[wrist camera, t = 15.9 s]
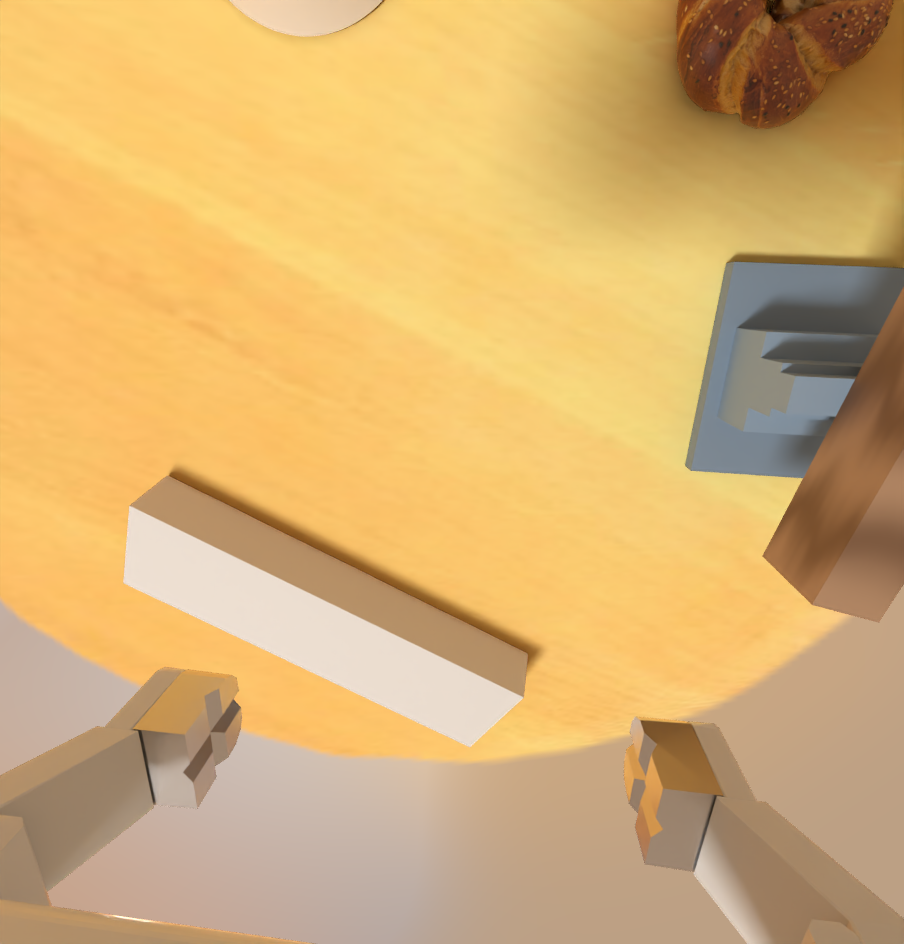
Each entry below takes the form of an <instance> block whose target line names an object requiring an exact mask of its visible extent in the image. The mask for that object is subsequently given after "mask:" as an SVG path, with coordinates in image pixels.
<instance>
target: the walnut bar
mask: <svg viewBox="0 0 904 944" xmlns="http://www.w3.org/2000/svg"><path fill="white" fill-rule="evenodd" d="M763 557H764V558H765V559H766V560H767V561H768V562H769V563H770V564H771V565H772V566H773V567H774V568H775V569H776V570H777V571H778V572H779V573H780V574H781V575H782V576H783V577H784V578H785V579H786V580H787V581H788V582H789V583H790V584H791V585H792V586H793V587H795V588H796V589H797V590H798V591H799V592H800V593H801V594H802V595H803V596H804V597H805V598H806V599H807V600H808V601H809V602H810V603H811V604H812V605H815V606H819V607H822V608H826V609H830V610H834V611H837V612H841V613H845V614H849V615H852V616H857V617H860V618H864V619H868V620H872V621H875V622H879V621H880V620H881V618H882V617H883V615H884V614H885V612H886V611H887V609H888V608H889V606H890V604H891V603H892V601H893V600H894V598H895V597H896V595H897V594H898V592H899V590H900V589H901V587H902V586H903V584H904V287H903V289H902V291H901V293H900V295H899V297H898V298H897V300H896V302H895V304H894V306H893V308H892V310H891V312H890V314H889V316H888V318H887V319H886V321H885V323H884V325H883V327H882V329H881V331H880V333H879V335H878V337H877V339H876V340H875V342H874V344H873V346H872V348H871V350H870V352H869V354H868V356H867V358H866V360H865V361H864V363H863V365H862V367H861V369H860V371H859V373H858V375H857V377H856V379H855V381H854V382H853V384H852V386H851V388H850V390H849V392H848V394H847V396H846V398H845V400H844V402H843V403H842V405H841V407H840V409H839V411H838V413H837V415H836V417H835V419H834V421H833V423H832V424H831V426H830V428H829V430H828V432H827V434H826V436H825V438H824V440H823V442H822V444H821V445H820V447H819V449H818V451H817V453H816V455H815V457H814V459H813V461H812V463H811V465H810V466H809V468H808V470H807V472H806V474H805V476H804V478H803V480H802V482H801V484H800V486H799V487H798V489H797V491H796V493H795V495H794V497H793V499H792V501H791V503H790V505H789V507H788V508H787V510H786V512H785V514H784V516H783V518H782V520H781V522H780V524H779V526H778V528H777V529H776V531H775V533H774V535H773V537H772V539H771V541H770V543H769V545H768V547H767V549H766V550H765V552H764V554H763Z"/></svg>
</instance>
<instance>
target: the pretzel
mask: <svg viewBox="0 0 904 944" xmlns="http://www.w3.org/2000/svg"><path fill="white" fill-rule="evenodd" d="M766 5H767V0H679V3H678V10H677V63H678V69H679V74H680V78H681V81H682V84H683V86H684V88H685V91H686V93H687V95H688V96H689V97H690V99H691V100H692V101H693V102H694V103H695V104H697V105H698V106H699V107H701V108H702V109H703V110H704V111H707V110H708V111H712V112H718V113H726V114H734V113H737V112H738V113H739V114H740V121H741V122H742V123H743V124H746V125H748V126H751V127H754V128H772V127H777V126H780V125H783V124H785V123H787V122H789V121H791V120H793V119H794V118H796V117H797V116H799V115H800V114H802V113H803V112H804V111H805V110H806V109H807V108H808V107H809V105H810V104H811V103H812V102H813V101H814V100H815V99H816V98H817V96H818V95H819V94H820V93H821V92H822V90H823V87H824V84H825V82H826V80H827V76H828V74H829V73H830V72H833V71H839V70H842V69H845V68H846V67H848V66H850V65H852V64H853V63H855V62H857V61H858V60H859V59H861V58H863V57H864V56H865V55H866V54H867V53H868V52H869V51H870V50H871V48H872V47H873V46H874V45H875V44H876V43H877V42H878V40H879V38H880V36H881V34H882V33H883V31H884V28H885V27H886V26H887V24H888V23H887V22H888V20H889V17H890V15H889V14H890V12H891V10H892V5H893V0H774V2H773V8H772V11H771V14H770V15H769V14H767V12H766Z"/></svg>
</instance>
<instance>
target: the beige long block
mask: <svg viewBox="0 0 904 944" xmlns="http://www.w3.org/2000/svg"><path fill="white" fill-rule="evenodd" d="M123 583H124V584H126V585H129V586H131V587H133V588H135V589H137V590H139V591H141V592H143V593H145V594H148V595H150V596H152V597H154V598H156V599H158V600H160V601H162V602H164V603H167V604H169V605H171V606H173V607H175V608H177V609H179V610H181V611H183V612H185V613H188V614H190V615H192V616H194V617H196V618H198V619H200V620H202V621H204V622H207V623H209V624H211V625H213V626H215V627H217V628H219V629H221V630H223V631H226V632H228V633H230V634H232V635H234V636H236V637H238V638H240V639H242V640H245V641H247V642H249V643H251V644H253V645H255V646H257V647H259V648H261V649H264V650H266V651H268V652H270V653H272V654H274V655H276V656H278V657H280V658H283V659H285V660H287V661H289V662H291V663H293V664H295V665H297V666H299V667H302V668H304V669H306V670H308V671H310V672H312V673H314V674H316V675H318V676H321V677H323V678H325V679H327V680H329V681H331V682H333V683H335V684H337V685H340V686H342V687H344V688H346V689H348V690H350V691H352V692H354V693H356V694H359V695H361V696H363V697H365V698H367V699H369V700H371V701H373V702H375V703H378V704H380V705H382V706H384V707H386V708H388V709H390V710H392V711H394V712H397V713H399V714H401V715H403V716H405V717H407V718H409V719H411V720H413V721H416V722H418V723H420V724H422V725H424V726H426V727H428V728H430V729H432V730H435V731H437V732H439V733H441V734H443V735H445V736H447V737H449V738H451V739H454V740H456V741H458V742H460V743H462V744H464V745H466V746H468V747H471V746H472V745H473V744H474V743H475V742H476V741H477V740H478V739H479V738H480V737H481V736H483V735H484V734H485V733H486V732H487V731H488V730H489V729H490V728H491V727H492V726H493V725H494V724H496V723H497V722H498V721H499V720H500V719H501V718H502V717H503V716H504V715H505V714H506V713H508V712H509V711H510V710H511V709H512V708H513V707H514V706H515V705H516V704H517V703H518V702H520V701H521V700H522V699H523V698H524V691H525V681H526V671H527V661H528V653H526V652H524V651H522V650H520V649H518V648H516V647H514V646H512V645H510V644H508V643H506V642H504V641H502V640H500V639H498V638H496V637H494V636H492V635H490V634H488V633H486V632H484V631H482V630H480V629H478V628H476V627H474V626H472V625H470V624H468V623H466V622H464V621H462V620H460V619H457V618H455V617H453V616H451V615H449V614H447V613H445V612H443V611H441V610H439V609H437V608H435V607H433V606H431V605H429V604H427V603H425V602H423V601H421V600H419V599H417V598H415V597H413V596H411V595H409V594H407V593H405V592H403V591H401V590H399V589H397V588H395V587H392V586H390V585H388V584H386V583H384V582H382V581H380V580H378V579H376V578H374V577H372V576H371V575H369V574H367V573H365V572H363V571H361V570H359V569H357V568H355V567H353V566H350V565H348V564H346V563H344V562H342V561H340V560H338V559H336V558H334V557H332V556H330V555H328V554H326V553H324V552H322V551H320V550H318V549H316V548H314V547H312V546H310V545H308V544H305V543H303V542H301V541H299V540H297V539H295V538H293V537H291V536H289V535H287V534H285V533H283V532H281V531H279V530H277V529H275V528H273V527H271V526H269V525H267V524H265V523H263V522H261V521H259V520H257V519H255V518H253V517H251V516H249V515H247V514H245V513H243V512H241V511H239V510H237V509H235V508H233V507H231V506H229V505H227V504H225V503H223V502H221V501H219V500H217V499H215V498H213V497H211V496H209V495H206V494H204V493H202V492H200V491H198V490H196V489H194V488H192V487H190V486H188V485H186V484H184V483H182V482H180V481H178V480H176V479H174V478H172V477H170V476H166V477H165V478H163V479H162V480H161V481H160V482H158V483H157V484H156V485H155V486H153V487H152V488H151V489H150V490H148V491H147V492H146V493H145V494H143V495H142V496H141V497H140V498H138V499H137V500H136V501H135V502H133V503H132V504H131V505H130V506H129V518H128V531H127V544H126V557H125V569H124V582H123Z"/></svg>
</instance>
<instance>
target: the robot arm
mask: <svg viewBox="0 0 904 944" xmlns="http://www.w3.org/2000/svg"><path fill="white" fill-rule="evenodd" d="M229 1H230V2H231V3H232V4H233V5H234V6H235V7H237V8H238V9H239V10H240V11H241V12H242V13H244V14H245V15H247V16H248V17H249V18H251V19H252V20H254V21H255V22H257V23H259V24H261V25H263V26H265V27H267V28H269V29H272V30H274V31H277V32H280V33H284V34H288V35H294V36H319V35H325V34H330V33H333V32H336V31H340V30H342V29H344V28H347V27H349V26H351V25H352V24H354V23H356V22H358V21H359V20H361V19H362V18H364V17H365V16H366V15H367V14H369V13H370V12H371V11H372V10H373V9H375V8H376V7H377V6H378V5H379V4H380V3H381V2H382V1H383V0H229ZM238 691H239V689H238V683H237V678H236V677H234V676H232V675H227V674H219V673H212V672H204V671H196V670H189V669H188V670H184V669H176V668H169V667H164V668H162V669H160V670H158V671H156V672H155V674H154V675H153V676H152V677H151V678H150V679H149V680H148V681H147V682H146V683H145V684H144V685H143V686H142V687H141V688H140V690H139V691H138V692H137V693H136V694H135V695H134V696H133V697H132V698H131V699H130V700H129V701H128V702H127V703H126V705H125V706H124V707H123V708H122V709H121V710H120V711H119V712H118V713H117V714H116V715H115V716H114V717H113V718H112V719H111V721H110V722H109V723H108V724H107V725H106V726H105V727H99V726H97V727H95V728H93V729H91V730H89V731H87V732H85V733H83V734H81V735H79V736H77V737H75V738H73V739H71V740H69V741H67V742H65V743H63V744H61V745H59V746H57V747H55V748H53V749H52V750H50V751H48V752H45V753H44V754H42V755H39V756H37V757H36V758H34V759H32V760H30V761H28V762H26V763H24V764H22V765H20V766H18V767H16V768H14V769H12V770H10V771H8V772H6V773H4V774H2V775H0V944H314V943H307V942H300V941H293V940H286V939H279V938H272V937H265V936H257V935H250V934H244V933H237V932H230V931H223V930H216V929H208V928H201V927H194V926H187V925H180V924H173V923H166V922H159V921H152V920H145V919H138V918H130V917H124V916H116V915H109V914H102V913H96V912H88V911H81V910H74V909H67V908H60V907H53V906H52V905H51V902H50V899H49V896H48V893H47V892H48V891H49V890H50V889H52V888H53V887H54V886H55V885H57V884H58V883H59V882H60V881H62V880H63V879H64V878H66V877H67V876H68V875H69V874H71V873H72V872H73V871H74V870H75V869H77V868H78V867H79V866H81V865H82V864H83V863H84V862H86V861H87V860H88V859H89V858H91V857H92V856H93V855H94V854H96V853H97V852H98V851H100V850H101V849H102V848H103V847H105V846H106V845H107V844H108V843H110V842H111V841H112V840H114V839H115V838H116V837H117V836H119V835H120V834H121V833H122V832H123V831H125V830H126V829H127V828H129V827H130V826H131V825H132V824H134V823H135V822H136V821H138V820H139V819H140V818H141V817H143V816H144V815H145V814H146V813H148V812H149V811H150V810H151V809H153V808H154V805H161V806H172V807H184V808H195V809H198V807H199V805H200V804H201V802H202V800H203V799H204V797H205V795H206V794H207V792H208V790H209V789H210V787H211V785H212V784H213V782H214V780H215V779H216V771H215V766H216V765H217V764H219V763H221V762H222V761H223V760H225V759H226V758H228V757H229V755H230V753H231V751H232V750H233V748H234V746H235V745H236V742H237V739H238V736H239V733H240V730H241V720H242V715H241V707H240V706H239V705H238V704H237V703H236V702H235V700H234V697H235V696H236V694H237V692H238ZM630 734H631V737H632V741H633V745H631V746H630V747H629V748H628V749H626V755H625V761H624V781H625V788H626V793H627V797H628V801H629V804H630V805H631V806H632V807H633V808H634V810H635V811H636V812H637V813H638V815H637V820H636V824H635V829H636V833H637V837H638V840H639V844H640V848H641V852H642V856H643V860H644V863H645V864H646V865H654V866H660V867H666V868H673V869H679V870H685V871H692V872H694V876H696V878H697V879H698V881H699V882H700V883H701V885H702V886H703V887H704V888H705V890H706V891H707V892H708V893H709V895H710V896H711V897H712V899H713V900H714V901H715V902H716V904H717V905H718V906H719V908H720V909H721V910H722V911H723V913H724V914H725V915H726V917H727V918H728V919H729V920H730V922H731V923H732V924H733V925H734V927H735V928H736V929H737V931H738V932H739V933H740V935H741V936H742V937H743V939H744V940H745V941H746V942H747V944H904V919H903V918H902V917H901V916H900V915H899V914H898V913H897V912H895V911H894V910H893V909H892V908H891V907H889V906H888V905H887V904H886V903H885V902H884V901H882V900H881V899H880V898H879V897H878V896H876V895H875V894H874V893H873V892H872V891H871V890H869V889H868V888H867V887H866V886H865V885H863V884H862V883H861V882H860V881H859V880H858V879H856V878H855V877H854V876H853V875H852V874H850V873H849V872H848V871H847V870H846V869H844V868H843V867H842V866H841V865H840V864H838V863H837V862H836V861H835V860H834V859H833V858H831V857H830V856H829V855H828V854H827V853H826V852H824V851H823V850H822V849H821V848H820V847H818V846H817V845H816V844H815V843H814V842H812V841H811V840H810V839H809V838H808V837H806V836H805V835H804V834H803V833H802V832H801V831H799V830H798V829H797V828H796V827H795V826H794V825H792V824H791V823H790V822H789V821H788V820H787V819H785V818H784V817H783V816H782V815H781V814H779V813H778V812H777V811H776V810H775V809H773V808H772V807H771V806H770V805H769V804H768V803H766V802H762V801H757V799H756V798H755V796H754V794H753V792H752V790H751V788H750V786H749V784H748V783H747V780H746V778H745V776H744V775H743V773H742V771H741V769H740V767H739V765H738V763H737V761H736V759H735V757H734V756H733V754H732V752H731V750H730V748H729V746H728V744H727V742H726V740H725V738H724V736H723V734H722V732H721V731H720V728H719V727H717V726H716V725H715V724H713V723H701V722H690V721H688V722H685V721H677V720H667V719H656V718H645V717H635V718H634V719H633V721H632V724H631V729H630Z"/></svg>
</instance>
